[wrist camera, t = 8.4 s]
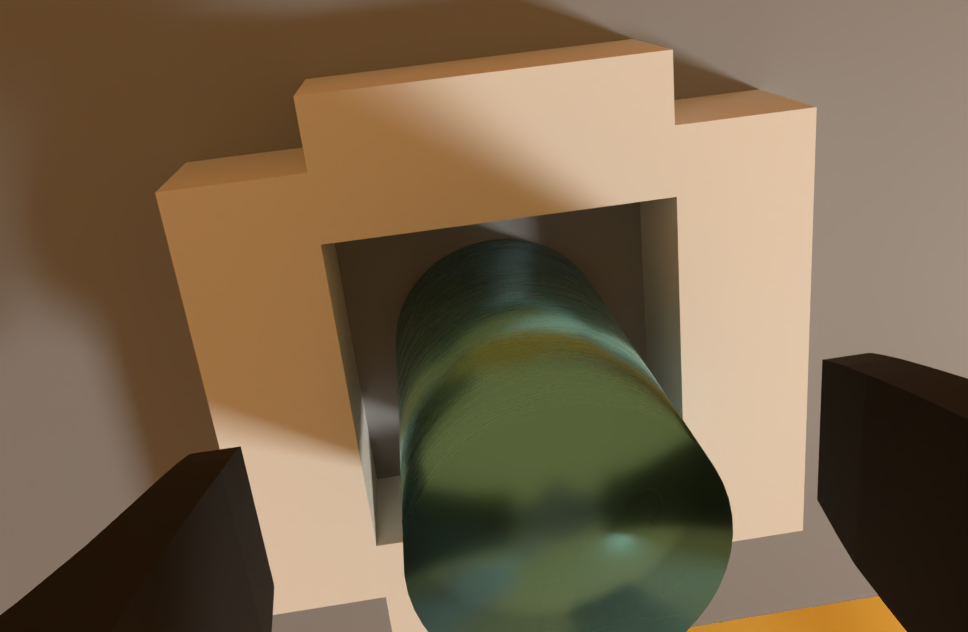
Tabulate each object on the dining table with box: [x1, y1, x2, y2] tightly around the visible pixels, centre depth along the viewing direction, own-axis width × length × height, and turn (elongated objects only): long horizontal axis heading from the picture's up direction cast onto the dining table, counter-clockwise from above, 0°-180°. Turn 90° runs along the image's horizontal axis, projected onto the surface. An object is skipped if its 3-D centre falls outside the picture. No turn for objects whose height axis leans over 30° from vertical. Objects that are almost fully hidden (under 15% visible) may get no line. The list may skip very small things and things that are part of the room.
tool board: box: [0, 0, 968, 632], centre depth 15 cm, size 22×14×3 cm, turn 96°
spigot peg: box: [396, 239, 733, 632], centre depth 12 cm, size 4×4×6 cm
